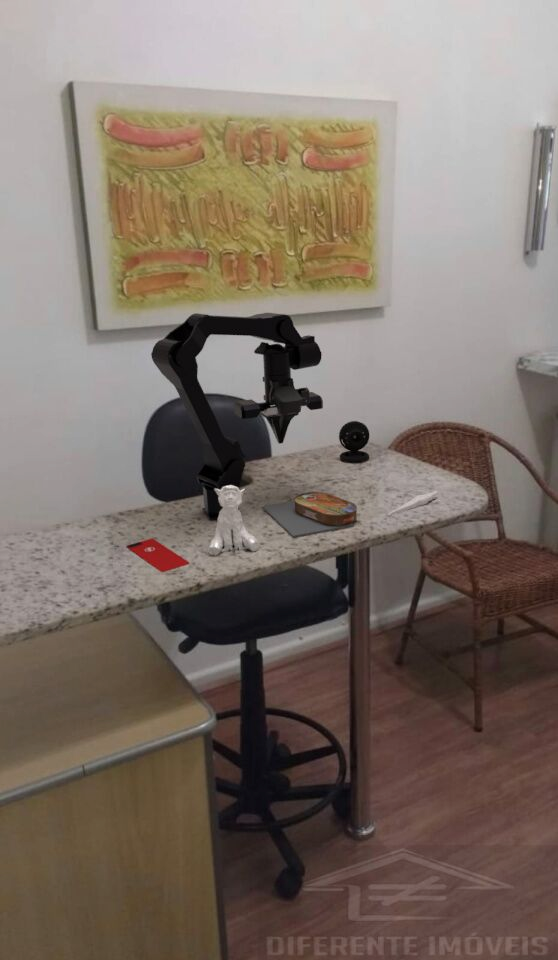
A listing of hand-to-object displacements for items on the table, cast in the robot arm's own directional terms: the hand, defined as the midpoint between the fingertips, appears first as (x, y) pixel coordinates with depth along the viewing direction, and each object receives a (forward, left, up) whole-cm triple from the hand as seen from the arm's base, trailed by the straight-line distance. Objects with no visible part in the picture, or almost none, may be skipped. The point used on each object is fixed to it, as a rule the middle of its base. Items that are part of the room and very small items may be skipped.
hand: (280, 443), depth 165 cm
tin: (+7, -15, -11) cm, 20 cm away
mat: (-1, -15, -12) cm, 19 cm away
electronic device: (-33, -20, -13) cm, 41 cm away
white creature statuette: (-19, -22, -12) cm, 32 cm away
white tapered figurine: (+22, -20, -12) cm, 32 cm away
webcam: (+26, +16, -12) cm, 33 cm away
